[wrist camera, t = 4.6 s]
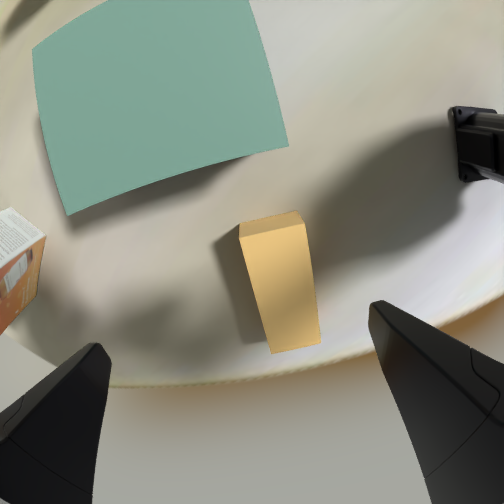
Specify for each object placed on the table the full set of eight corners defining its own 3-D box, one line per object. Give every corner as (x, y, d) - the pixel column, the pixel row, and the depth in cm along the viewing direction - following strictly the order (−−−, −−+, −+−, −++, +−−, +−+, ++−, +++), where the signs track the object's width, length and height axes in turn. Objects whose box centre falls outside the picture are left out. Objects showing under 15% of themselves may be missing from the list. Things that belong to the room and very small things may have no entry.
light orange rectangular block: (295, 209, 19) (304, 223, 16) (313, 319, 23) (321, 343, 20) (239, 222, 19) (238, 238, 16) (268, 329, 23) (271, 354, 20)
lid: (233, -31, 7) (233, -41, 7) (285, 145, 12) (289, 146, 11) (42, 51, 8) (32, 49, 7) (76, 210, 12) (67, 216, 12)
